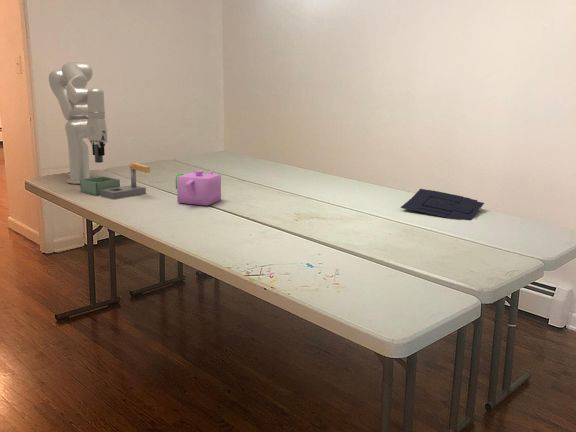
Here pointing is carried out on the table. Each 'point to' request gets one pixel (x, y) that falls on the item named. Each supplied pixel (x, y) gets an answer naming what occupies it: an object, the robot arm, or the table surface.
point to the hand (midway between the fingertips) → (98, 154)
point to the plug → (97, 158)
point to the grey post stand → (124, 189)
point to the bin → (98, 184)
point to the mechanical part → (176, 179)
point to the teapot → (199, 188)
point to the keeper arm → (140, 167)
